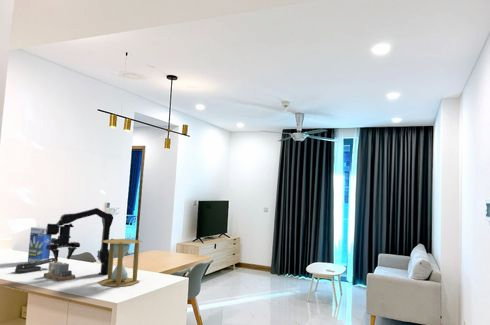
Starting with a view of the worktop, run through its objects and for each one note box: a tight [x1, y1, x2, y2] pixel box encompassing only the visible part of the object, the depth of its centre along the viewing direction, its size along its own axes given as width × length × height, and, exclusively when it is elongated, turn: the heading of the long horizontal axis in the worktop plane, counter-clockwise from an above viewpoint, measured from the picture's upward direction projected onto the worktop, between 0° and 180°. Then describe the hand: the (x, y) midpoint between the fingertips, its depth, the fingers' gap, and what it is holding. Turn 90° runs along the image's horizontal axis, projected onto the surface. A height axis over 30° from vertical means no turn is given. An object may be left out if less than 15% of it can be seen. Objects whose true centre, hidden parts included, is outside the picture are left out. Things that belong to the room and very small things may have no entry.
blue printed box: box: [27, 226, 53, 263], centre depth 263 cm, size 13×8×26 cm, turn 73°
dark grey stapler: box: [14, 257, 59, 275], centre depth 237 cm, size 9×7×25 cm
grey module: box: [55, 262, 70, 276], centre depth 219 cm, size 4×6×6 cm
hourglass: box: [97, 238, 143, 288], centre depth 215 cm, size 24×22×25 cm
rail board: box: [43, 261, 76, 282], centre depth 220 cm, size 18×10×10 cm, turn 56°
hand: (62, 259), depth 219 cm, fingers open, 7 cm apart
